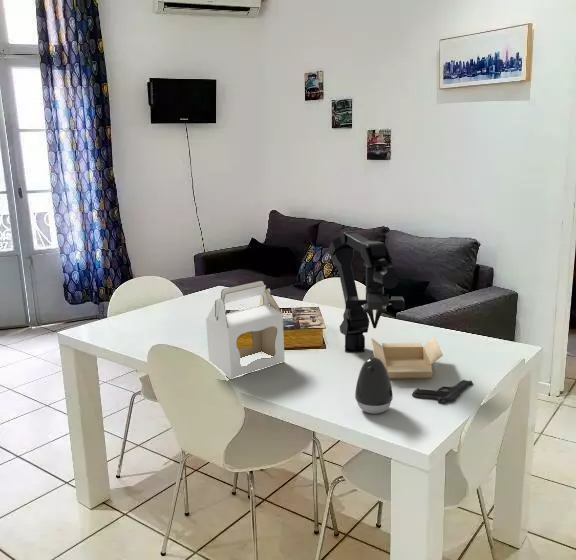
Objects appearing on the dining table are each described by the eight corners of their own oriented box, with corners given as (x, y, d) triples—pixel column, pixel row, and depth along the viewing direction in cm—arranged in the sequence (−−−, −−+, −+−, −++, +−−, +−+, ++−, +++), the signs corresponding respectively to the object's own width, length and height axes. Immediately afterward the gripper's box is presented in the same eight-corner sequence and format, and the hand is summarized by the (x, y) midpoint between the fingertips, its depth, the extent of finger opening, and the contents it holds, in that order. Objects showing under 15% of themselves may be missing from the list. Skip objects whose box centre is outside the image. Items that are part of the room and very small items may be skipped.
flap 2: (431, 363, 189) (442, 354, 188) (423, 345, 205) (434, 337, 204) (431, 364, 189) (443, 355, 188) (424, 346, 205) (434, 337, 204)
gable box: (230, 380, 194) (225, 294, 188) (208, 369, 205) (202, 287, 198) (285, 362, 208) (282, 282, 201) (262, 352, 218) (258, 275, 211)
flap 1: (385, 364, 191) (374, 356, 190) (381, 346, 207) (371, 338, 206) (386, 364, 190) (374, 355, 190) (382, 346, 207) (371, 338, 206)
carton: (386, 383, 187) (386, 371, 186) (380, 353, 212) (380, 342, 211) (433, 383, 186) (433, 371, 185) (422, 353, 211) (422, 342, 210)
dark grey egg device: (350, 415, 167) (350, 363, 164) (360, 400, 176) (359, 350, 173) (388, 420, 163) (388, 366, 160) (395, 404, 173) (396, 353, 169)
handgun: (436, 372, 191) (474, 379, 184) (436, 378, 192) (474, 385, 185) (410, 392, 177) (450, 401, 170) (410, 398, 177) (450, 407, 170)
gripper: (344, 288, 190) (345, 336, 194) (406, 288, 188) (405, 336, 192) (345, 279, 201) (346, 324, 205) (403, 279, 199) (402, 325, 203)
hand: (374, 328), depth 201 cm, fingers closed
